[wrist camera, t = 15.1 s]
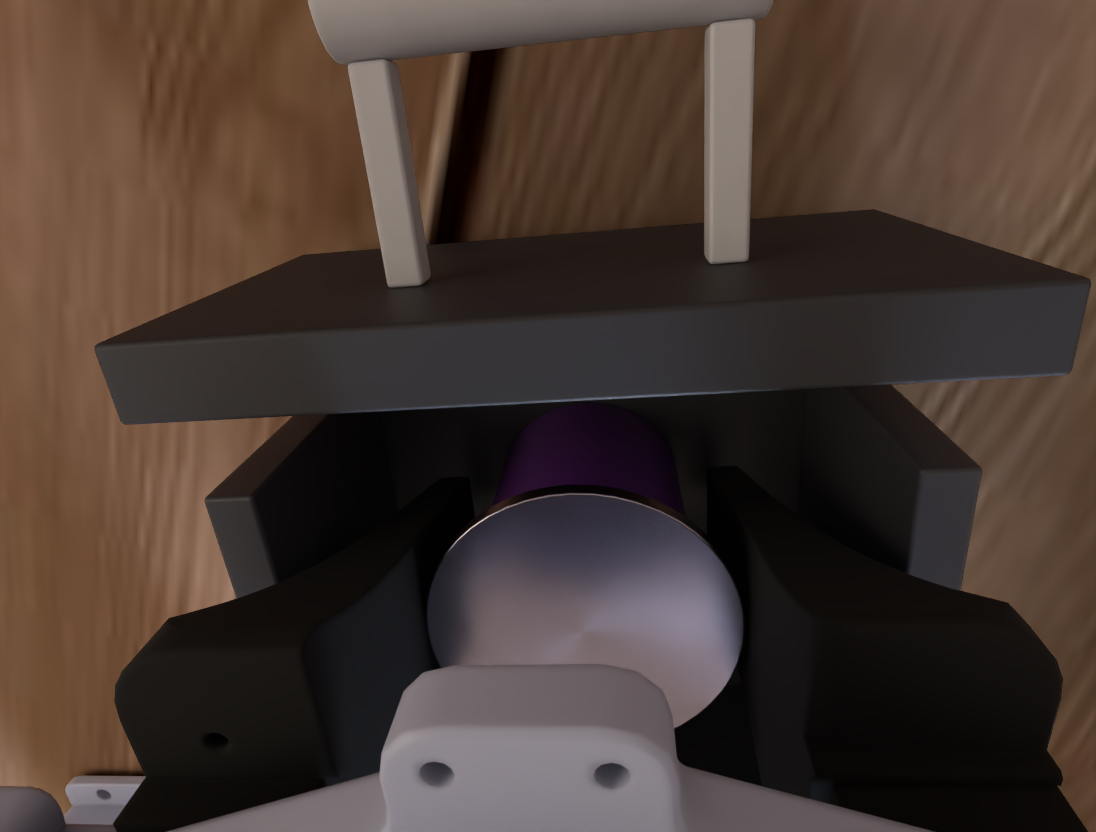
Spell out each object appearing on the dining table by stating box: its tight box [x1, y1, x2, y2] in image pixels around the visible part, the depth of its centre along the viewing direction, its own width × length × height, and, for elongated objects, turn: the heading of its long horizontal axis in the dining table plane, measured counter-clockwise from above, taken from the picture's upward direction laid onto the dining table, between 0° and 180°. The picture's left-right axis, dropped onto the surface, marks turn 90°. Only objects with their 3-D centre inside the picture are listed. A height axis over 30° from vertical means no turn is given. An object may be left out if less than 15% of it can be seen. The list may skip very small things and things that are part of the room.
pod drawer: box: [95, 0, 1091, 786], centre depth 13 cm, size 17×12×7 cm
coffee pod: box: [426, 403, 745, 729], centre depth 13 cm, size 5×5×5 cm
